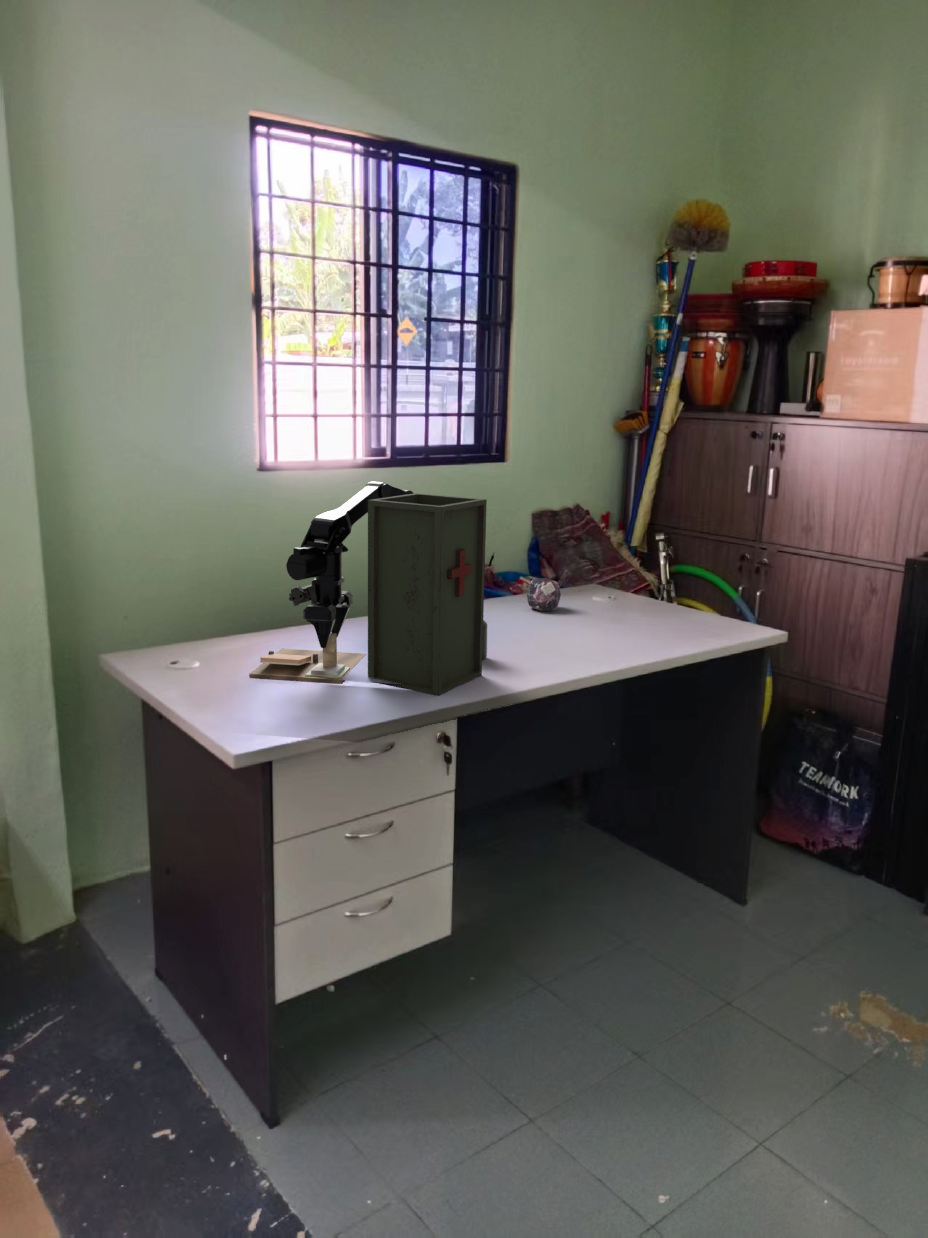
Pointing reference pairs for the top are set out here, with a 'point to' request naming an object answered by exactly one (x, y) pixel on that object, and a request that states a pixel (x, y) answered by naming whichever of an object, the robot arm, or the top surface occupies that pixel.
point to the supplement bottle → (484, 640)
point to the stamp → (329, 659)
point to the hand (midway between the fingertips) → (329, 642)
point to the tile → (285, 659)
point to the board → (306, 667)
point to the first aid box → (426, 590)
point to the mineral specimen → (543, 594)
